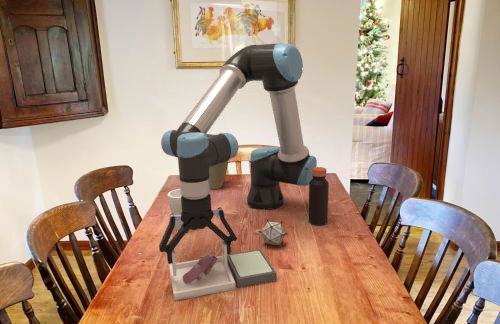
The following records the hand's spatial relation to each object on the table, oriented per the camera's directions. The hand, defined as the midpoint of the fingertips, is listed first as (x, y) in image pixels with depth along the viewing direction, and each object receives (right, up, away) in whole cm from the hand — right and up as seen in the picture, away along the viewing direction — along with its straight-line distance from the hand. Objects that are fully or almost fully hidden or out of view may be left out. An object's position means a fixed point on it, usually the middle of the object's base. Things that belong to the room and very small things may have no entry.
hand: (200, 269), depth 101 cm
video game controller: (0, -3, +1) cm, 3 cm away
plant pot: (-3, +17, +76) cm, 78 cm away
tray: (0, -3, +1) cm, 3 cm away
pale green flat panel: (+13, 0, +4) cm, 14 cm away
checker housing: (+13, -2, +5) cm, 14 cm away
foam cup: (-10, +5, +33) cm, 35 cm away
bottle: (+38, +7, +35) cm, 52 cm away
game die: (+21, +2, +20) cm, 29 cm away
